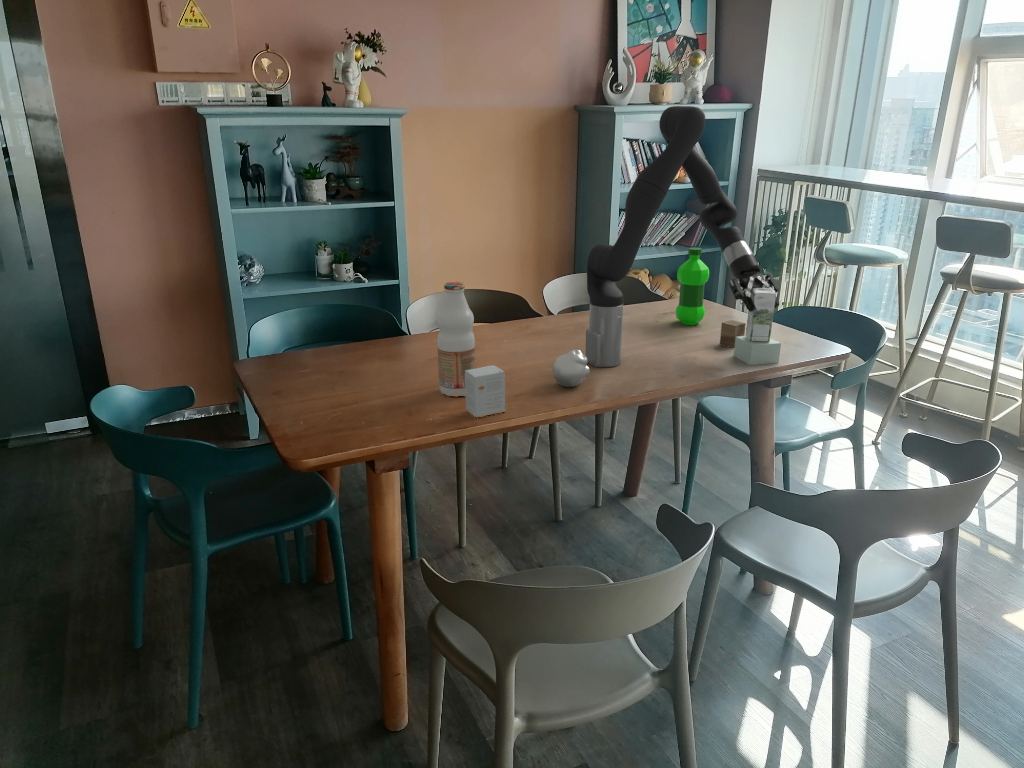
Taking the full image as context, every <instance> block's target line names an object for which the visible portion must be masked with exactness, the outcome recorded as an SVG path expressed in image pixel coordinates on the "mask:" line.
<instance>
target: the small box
mask: <svg viewBox="0 0 1024 768" xmlns="http://www.w3.org/2000/svg"><path fill="white" fill-rule="evenodd" d="M505 374H506V373H505V371H504V370H502V369H501V368H499V367H498V366H496V365H495V364H494V365H487V366H483V367H477V368H476V369H470V370H465V391H466V396H465V410H466V409H467V410H468V411H469V412H470V413H472V414H473V415H474V416H476V417H477V416H481V415H487V414H491V413H496V412H501V411H505V412H506V379H505V378H506V375H505Z"/></svg>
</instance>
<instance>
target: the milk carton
mask: <svg viewBox="0 0 1024 768" xmlns="http://www.w3.org/2000/svg"><path fill="white" fill-rule="evenodd" d="M773 289H774V288H773ZM773 289H771V288H764V287H762V288H754V289H753V288H752V291H751V293H750V295H749V297H751V299H752V301H753V303H754V305H755V307H756V308H755V309H754V310H753V311H752V312H749V310H747V311H748V313H747V320H746V327H745V336H746V337H747V339H748V340H749V341H750V342H770V338H771V335H772V334H771V333H772V326H773V318H774V312H775V308H774V306H775V299H776V297H777V293H776V294H775V292H774V290H773Z"/></svg>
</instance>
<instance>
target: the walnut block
mask: <svg viewBox="0 0 1024 768" xmlns="http://www.w3.org/2000/svg"><path fill="white" fill-rule="evenodd" d="M746 326H747V322H743V321H738V320H733V319H729V320H726V321H723V322H721V327H720V328H721V329H720V336H719V337H720V339H719V345H720V344H722V345H721V346H723V345H725V346H724V347H727V346H729V347H728V348H731V349H735V339H736V337H737V336H746Z"/></svg>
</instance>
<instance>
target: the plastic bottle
mask: <svg viewBox="0 0 1024 768" xmlns="http://www.w3.org/2000/svg"><path fill="white" fill-rule="evenodd" d="M687 251H688V253H687V255H689V258H688V259H687V260H686V261H685V262H684V263H682V264H681V265H680V266H679V267H678V269H677V272H676V274H677V275H676V278H677V281H678V282H679V283H680V284H679V285H680V287H679V296H678V297H679V299H678V304H677V307H676V309H675V317H676V318H677V319H678V321H679V322H681V324H683V325H687V326H695V325H697V324H698V323H700V322H701V321H703V319H704V317H705V314H706V308H705V306H704V297H705V295H704V293H705V284H707V282H708V281H709V278H710V269H709V267H708V266H707V264H705V263H704V262H703V261H702V259H700V256H702V251H703V248H701V247H689V248H688V249H687Z"/></svg>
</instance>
